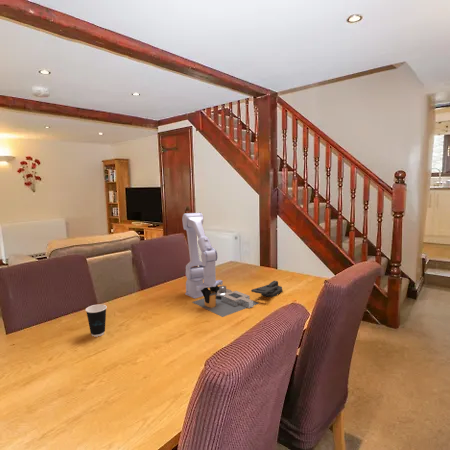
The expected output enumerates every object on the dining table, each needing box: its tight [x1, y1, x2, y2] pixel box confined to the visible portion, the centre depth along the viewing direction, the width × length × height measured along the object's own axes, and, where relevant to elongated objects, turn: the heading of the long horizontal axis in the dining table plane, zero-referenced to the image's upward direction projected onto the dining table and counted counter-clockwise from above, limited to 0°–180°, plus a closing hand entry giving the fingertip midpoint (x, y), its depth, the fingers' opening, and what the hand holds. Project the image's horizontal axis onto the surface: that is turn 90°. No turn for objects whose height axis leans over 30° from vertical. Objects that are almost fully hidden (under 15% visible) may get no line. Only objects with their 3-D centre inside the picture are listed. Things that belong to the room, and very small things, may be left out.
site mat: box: [191, 296, 260, 318], centre depth 160 cm, size 24×24×1 cm
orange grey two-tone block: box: [205, 289, 216, 308], centre depth 156 cm, size 5×3×7 cm, turn 41°
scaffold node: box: [216, 285, 254, 309], centre depth 163 cm, size 26×10×5 cm, turn 41°
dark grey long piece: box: [250, 280, 283, 298], centre depth 169 cm, size 9×7×25 cm
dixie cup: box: [84, 303, 108, 338], centre depth 129 cm, size 8×8×11 cm
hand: (210, 301), depth 156 cm, fingers closed on orange grey two-tone block, 3 cm apart
